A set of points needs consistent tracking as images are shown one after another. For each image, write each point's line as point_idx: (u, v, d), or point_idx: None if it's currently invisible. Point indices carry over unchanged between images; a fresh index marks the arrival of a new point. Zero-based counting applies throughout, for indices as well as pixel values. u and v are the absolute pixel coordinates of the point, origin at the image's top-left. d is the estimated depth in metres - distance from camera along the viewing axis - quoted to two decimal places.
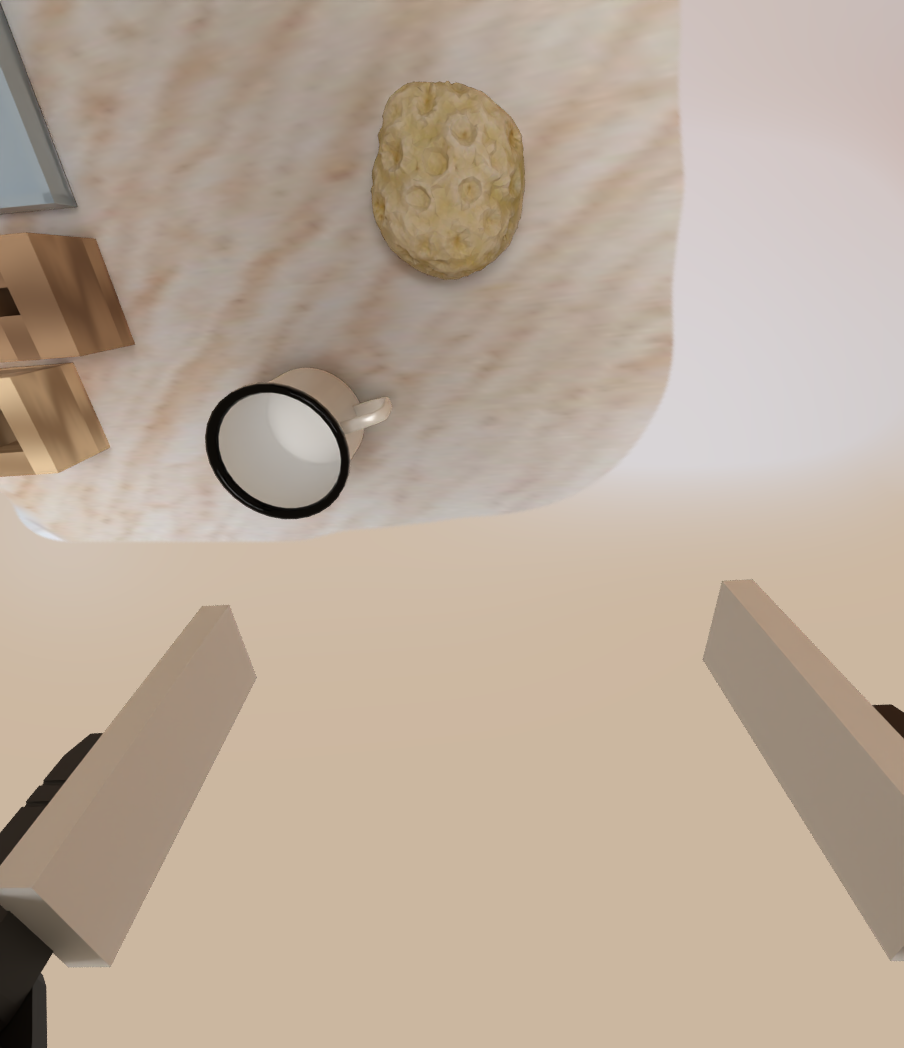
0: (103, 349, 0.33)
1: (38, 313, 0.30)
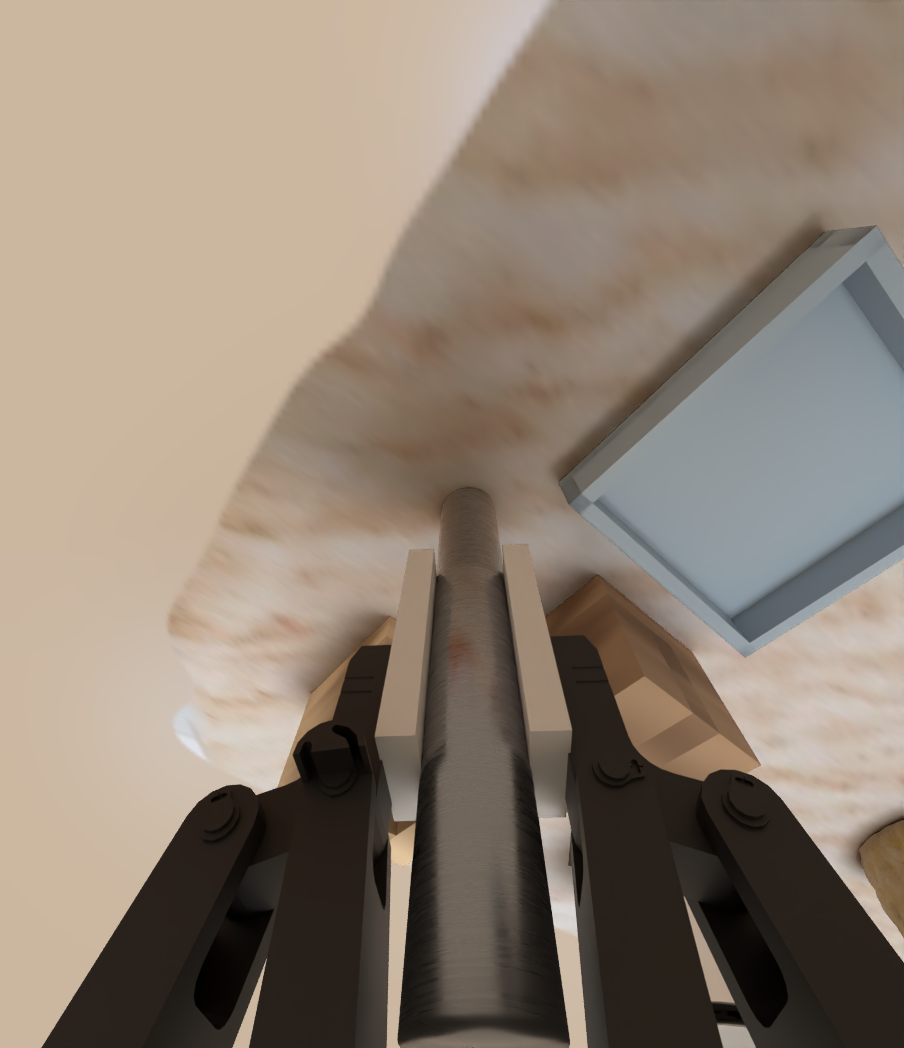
0: None
1: None
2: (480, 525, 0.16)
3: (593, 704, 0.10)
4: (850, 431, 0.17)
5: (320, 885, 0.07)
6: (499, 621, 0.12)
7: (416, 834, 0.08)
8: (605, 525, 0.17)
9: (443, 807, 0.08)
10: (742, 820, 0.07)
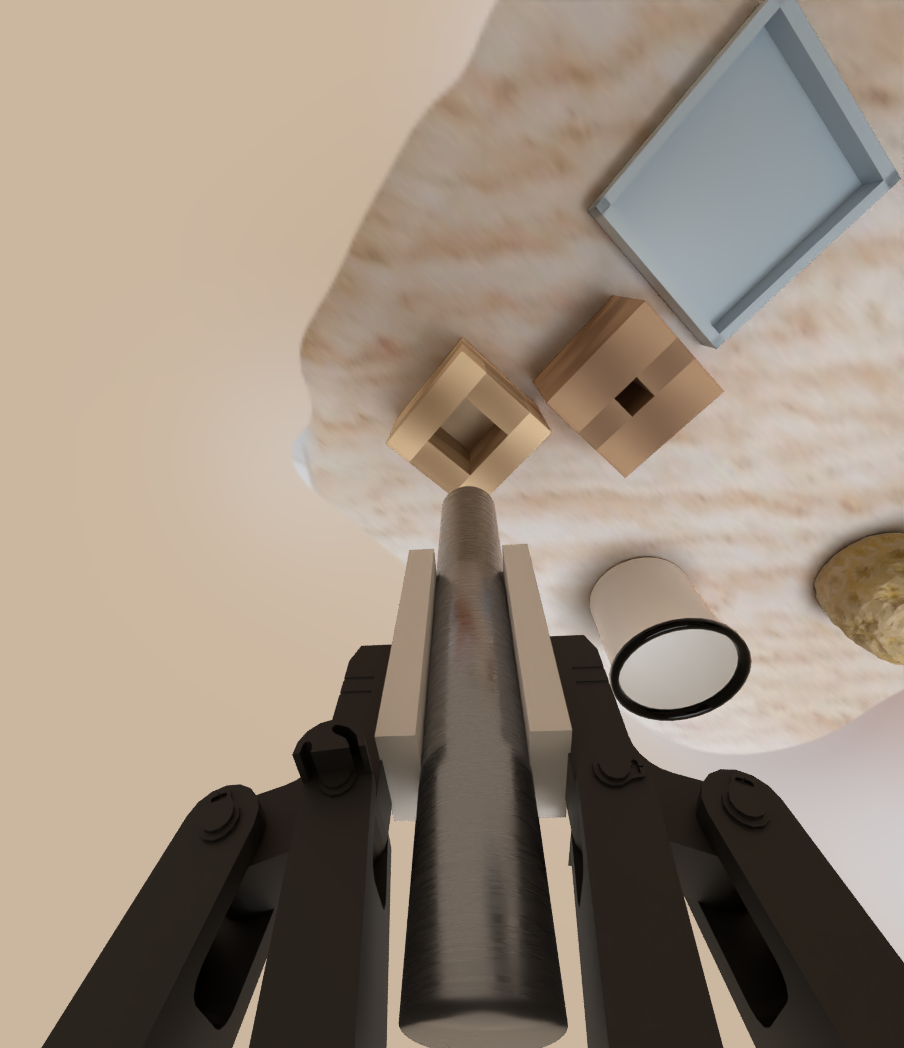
0: None
1: (645, 430, 0.27)
2: (480, 522, 0.16)
3: (593, 704, 0.10)
4: (783, 158, 0.25)
5: (320, 885, 0.07)
6: (498, 616, 0.12)
7: (417, 824, 0.08)
8: (619, 224, 0.26)
9: (443, 798, 0.08)
10: (741, 819, 0.07)
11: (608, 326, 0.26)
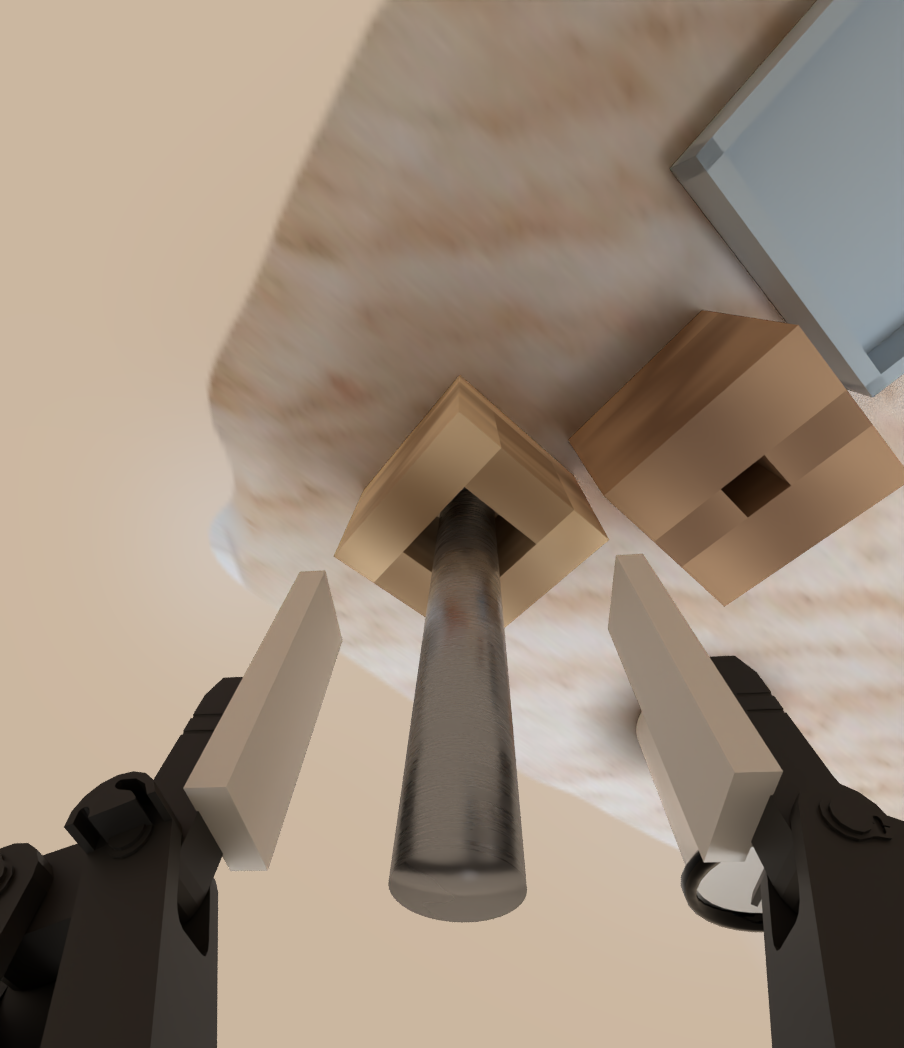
0: None
1: (767, 537, 0.16)
2: (477, 503, 0.17)
3: (776, 736, 0.09)
4: None
5: (107, 955, 0.06)
6: (488, 581, 0.13)
7: (409, 743, 0.09)
8: (735, 188, 0.15)
9: (431, 719, 0.09)
10: None
11: (712, 366, 0.15)
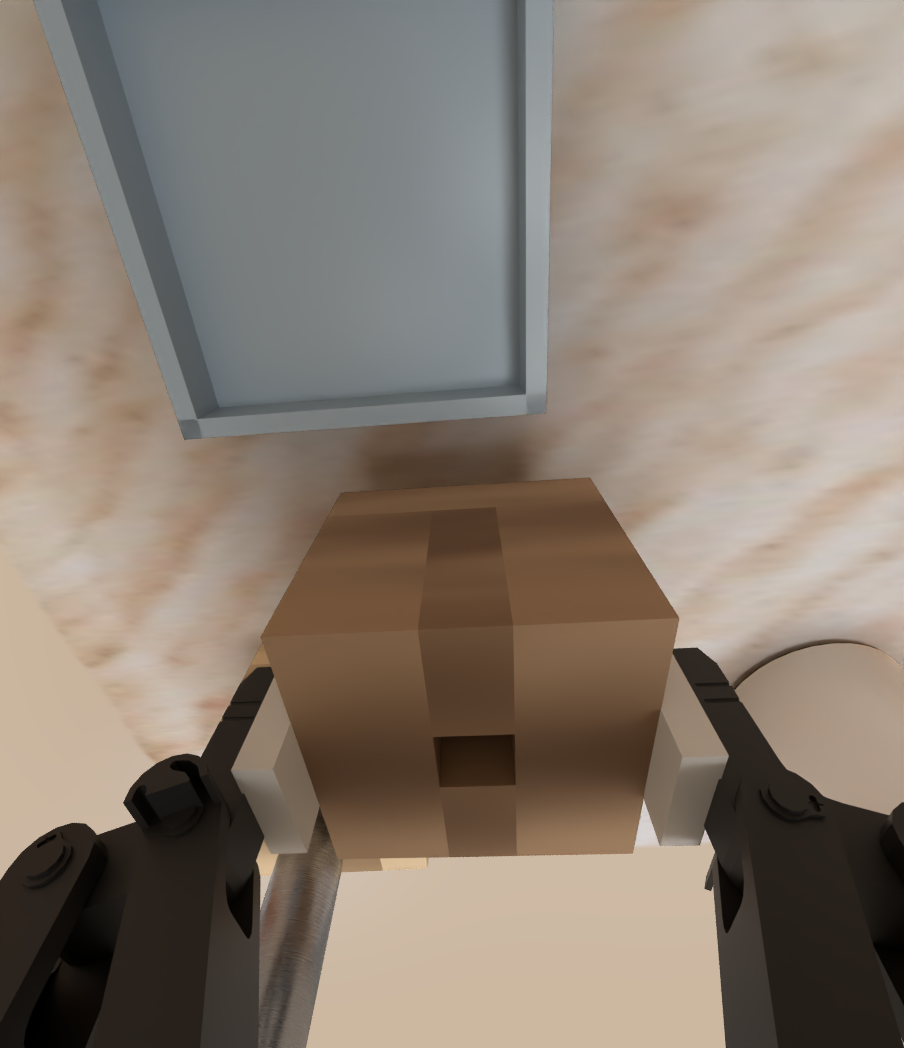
0: None
1: (573, 783, 0.10)
2: None
3: (730, 724, 0.09)
4: (344, 82, 0.12)
5: (161, 930, 0.06)
6: (281, 912, 0.14)
7: None
8: (232, 426, 0.14)
9: None
10: None
11: None
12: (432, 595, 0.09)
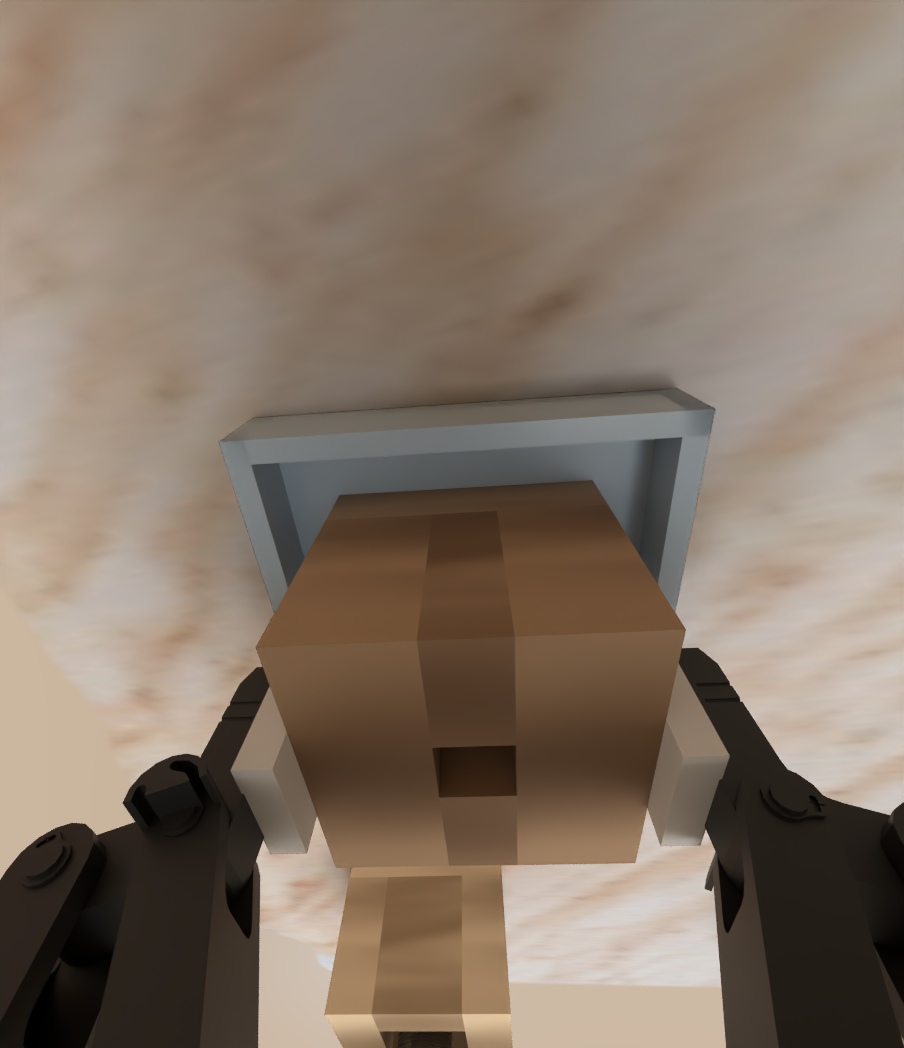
0: None
1: (576, 793, 0.09)
2: None
3: (730, 724, 0.09)
4: None
5: (160, 930, 0.06)
6: None
7: None
8: None
9: None
10: None
11: None
12: (432, 604, 0.08)
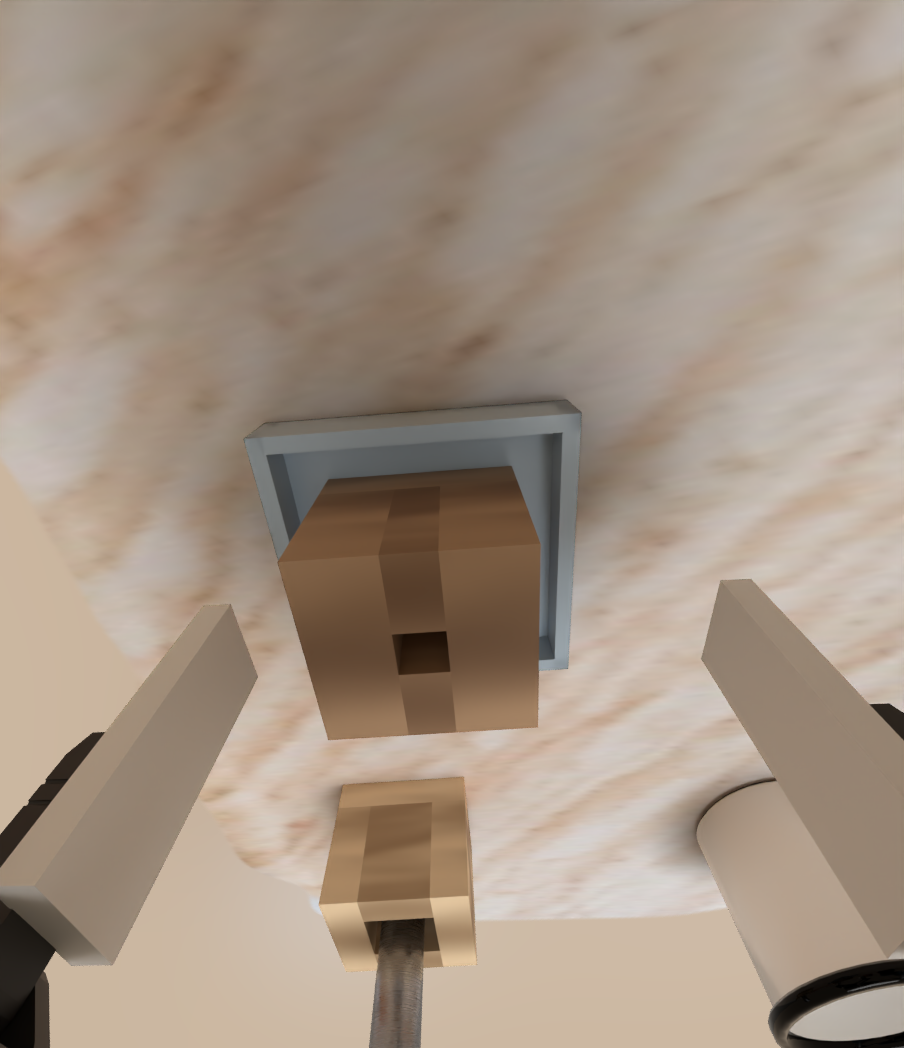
0: None
1: (489, 669, 0.14)
2: None
3: None
4: None
5: None
6: (390, 1024, 0.20)
7: None
8: None
9: None
10: None
11: None
12: (389, 537, 0.13)
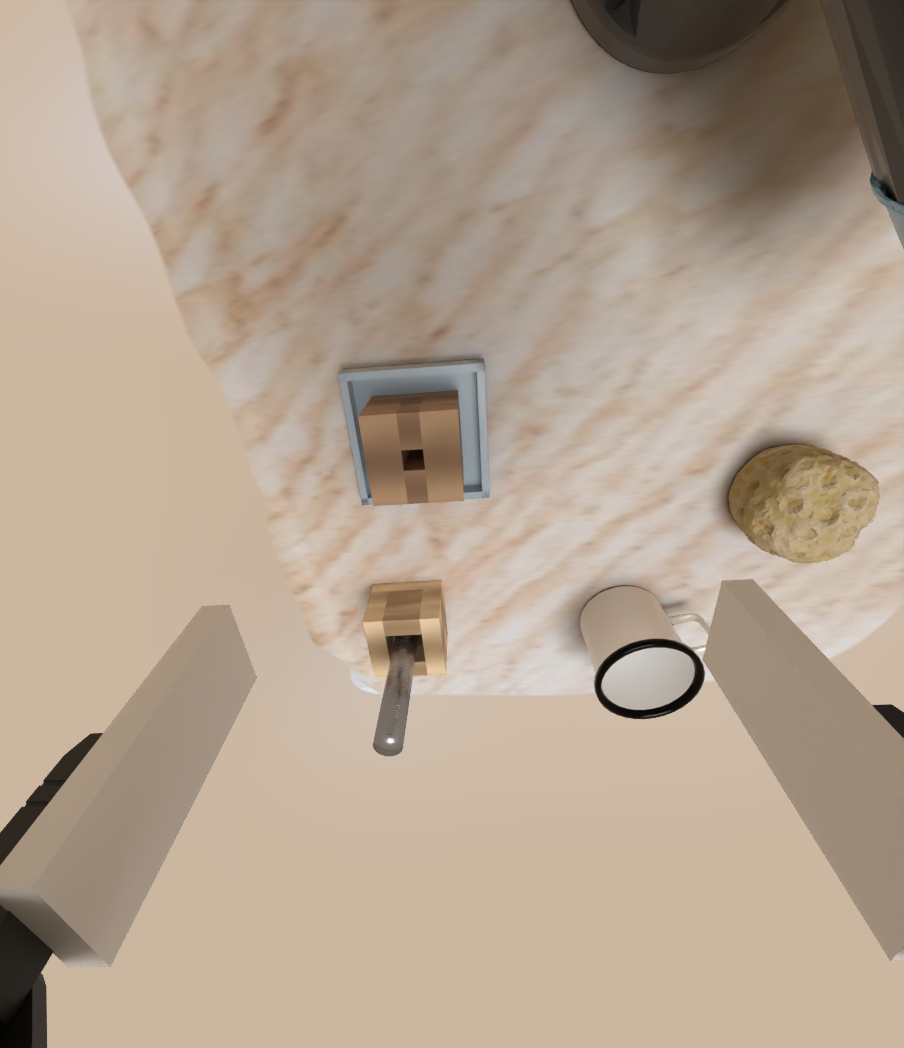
0: (463, 486, 0.38)
1: (441, 468, 0.34)
2: None
3: None
4: None
5: None
6: (397, 664, 0.40)
7: None
8: None
9: None
10: None
11: None
12: (400, 409, 0.33)
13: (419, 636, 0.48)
